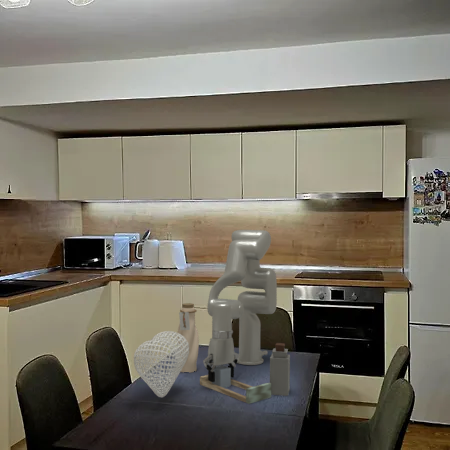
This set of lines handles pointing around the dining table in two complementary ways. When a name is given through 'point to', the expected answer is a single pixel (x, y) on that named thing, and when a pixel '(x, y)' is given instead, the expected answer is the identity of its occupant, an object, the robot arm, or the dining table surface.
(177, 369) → the heart
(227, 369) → the grey rectangular block
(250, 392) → the track
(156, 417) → the dining table surface
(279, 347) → the perfume bottle
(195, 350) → the water bottle
